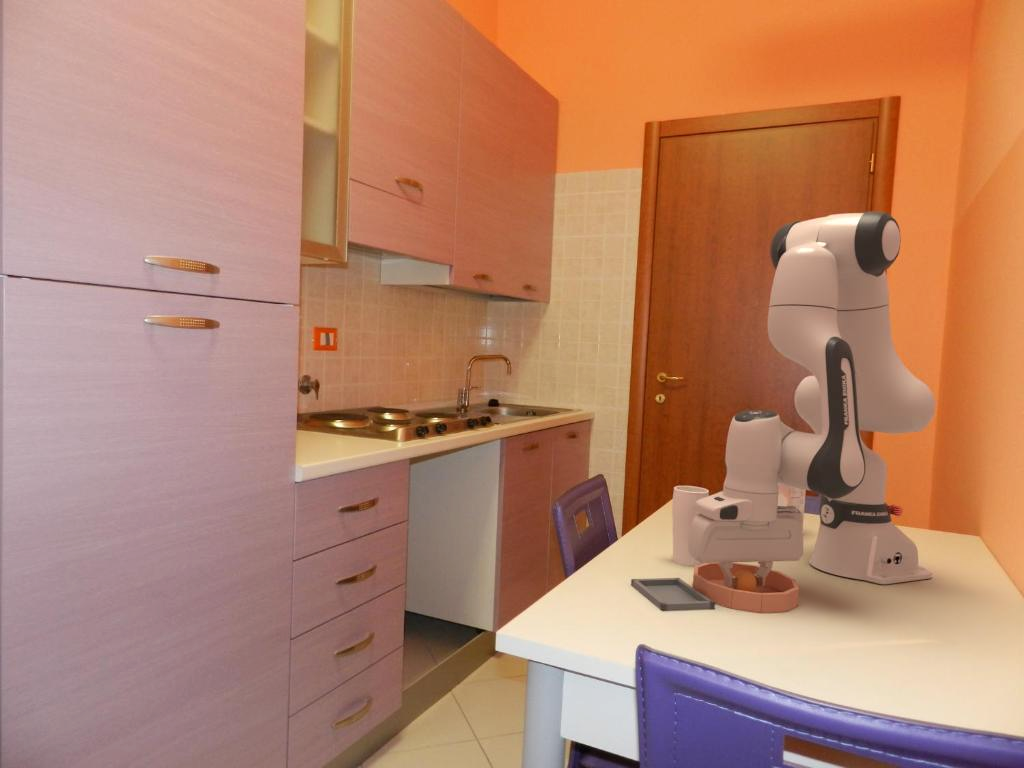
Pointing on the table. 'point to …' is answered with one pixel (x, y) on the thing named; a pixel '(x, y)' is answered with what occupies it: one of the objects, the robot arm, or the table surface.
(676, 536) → the drinking glass
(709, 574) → the bowl
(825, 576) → the table surface
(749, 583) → the ball
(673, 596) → the tray
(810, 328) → the robot arm
